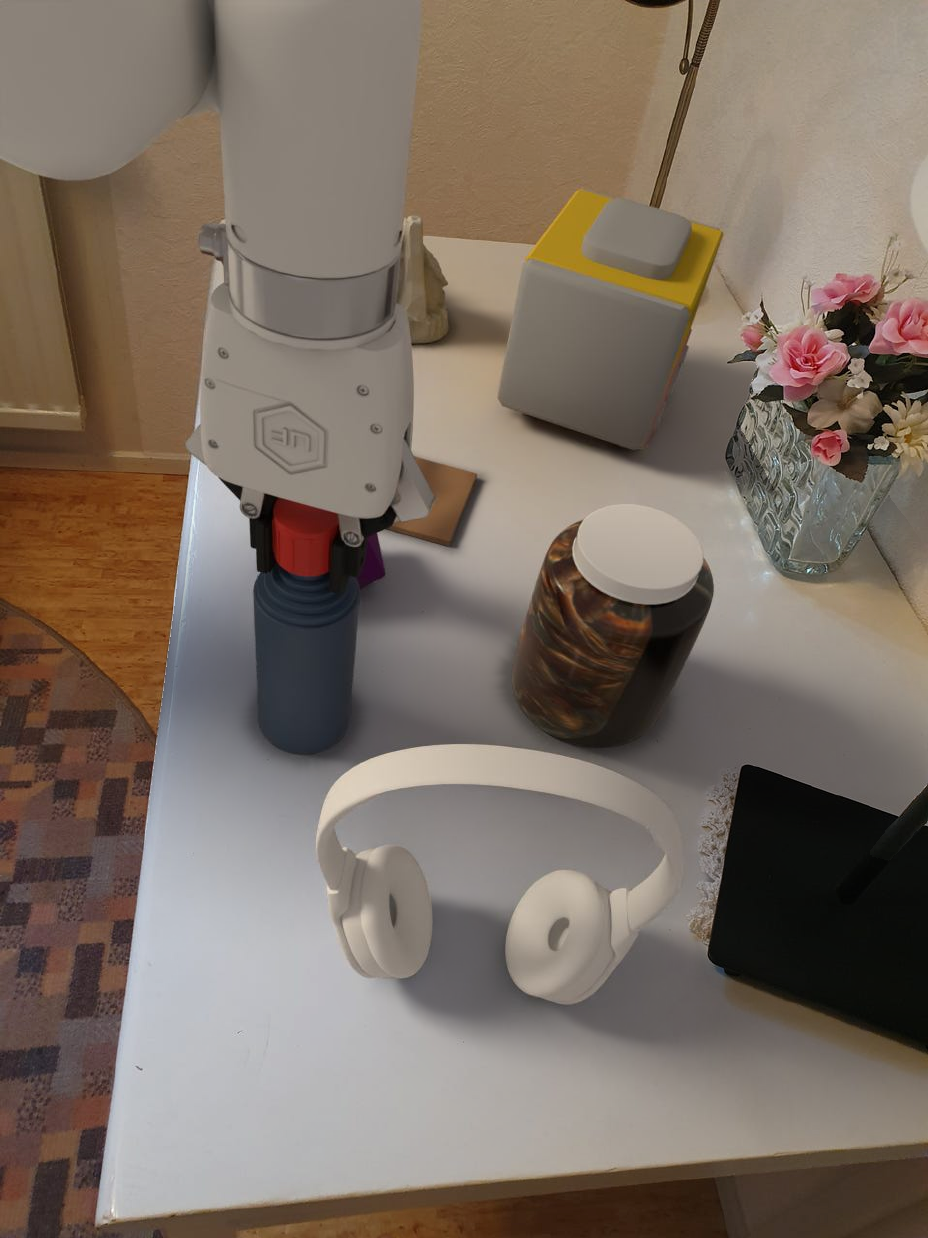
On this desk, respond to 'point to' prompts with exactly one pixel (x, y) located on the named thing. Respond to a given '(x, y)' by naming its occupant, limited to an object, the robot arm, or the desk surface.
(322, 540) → the cap
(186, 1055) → the desk surface
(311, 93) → the robot arm
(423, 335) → the beige rough towered piece
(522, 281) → the alarm clock
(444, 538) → the coaster
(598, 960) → the headphones
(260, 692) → the water bottle
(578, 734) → the jar
